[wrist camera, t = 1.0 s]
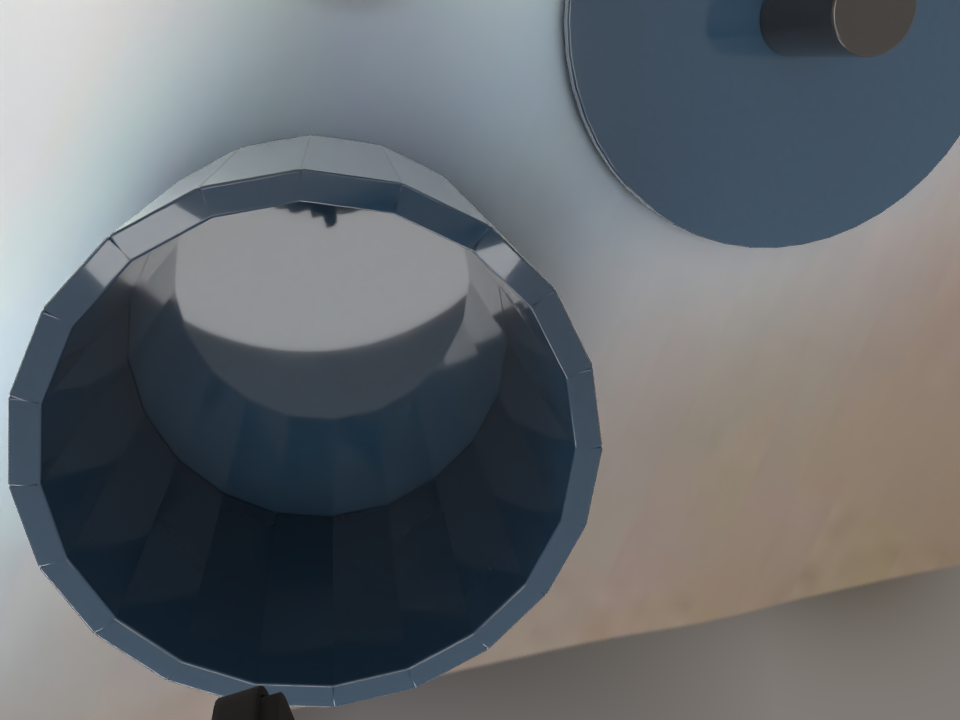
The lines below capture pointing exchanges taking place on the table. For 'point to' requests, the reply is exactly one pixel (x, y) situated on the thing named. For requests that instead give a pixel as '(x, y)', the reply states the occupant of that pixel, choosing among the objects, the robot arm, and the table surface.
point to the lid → (767, 107)
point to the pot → (304, 428)
